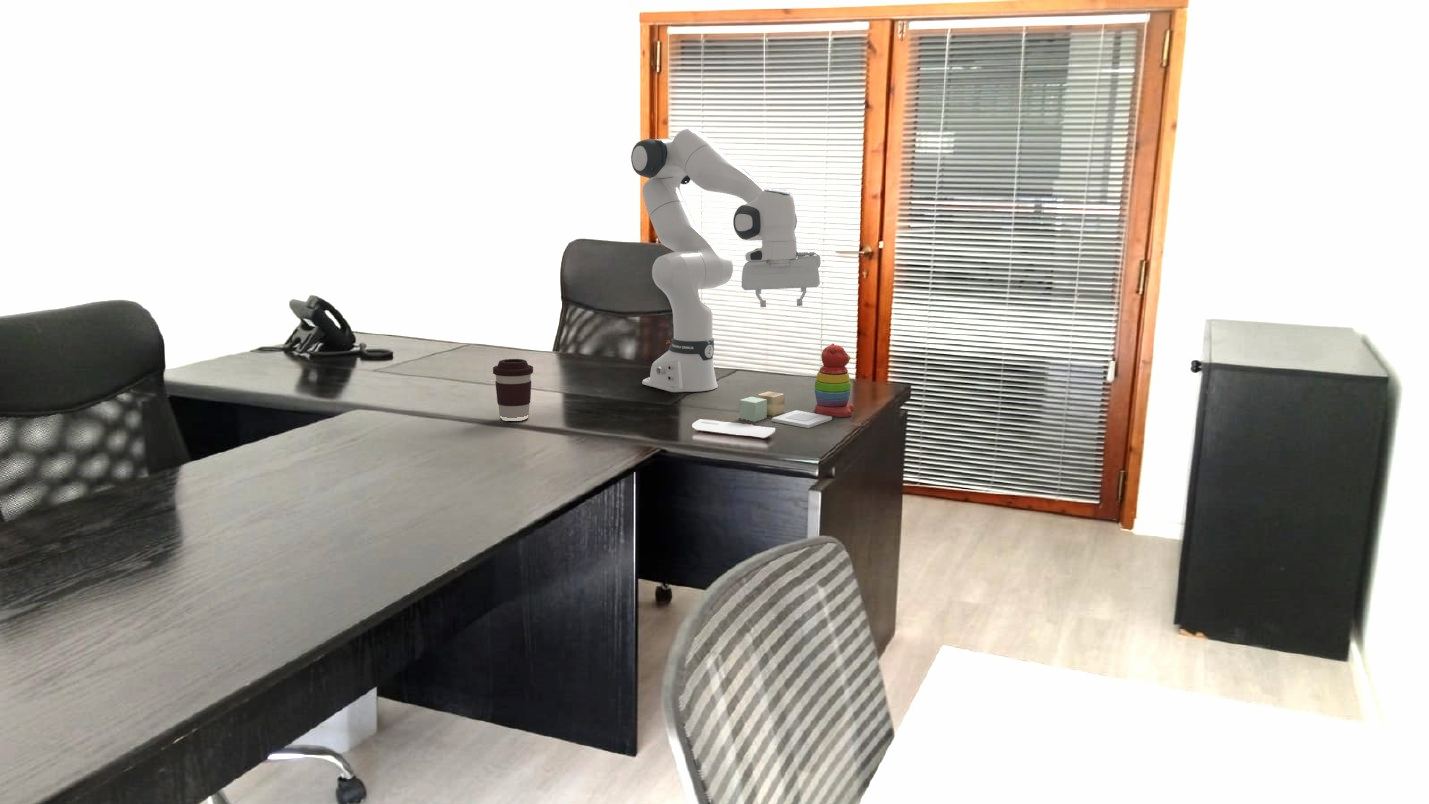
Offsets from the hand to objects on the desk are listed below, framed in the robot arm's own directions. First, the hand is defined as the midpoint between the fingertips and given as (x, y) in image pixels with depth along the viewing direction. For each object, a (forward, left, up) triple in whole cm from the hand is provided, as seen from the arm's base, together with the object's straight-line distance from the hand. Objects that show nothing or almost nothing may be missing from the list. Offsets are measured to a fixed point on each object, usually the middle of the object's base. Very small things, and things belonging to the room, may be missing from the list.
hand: (781, 306), depth 286 cm
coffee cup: (-46, -52, -27) cm, 74 cm away
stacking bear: (+13, +6, -28) cm, 31 cm away
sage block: (+1, -13, -27) cm, 30 cm away
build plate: (+12, -7, -27) cm, 30 cm away
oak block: (+1, -5, -27) cm, 28 cm away
